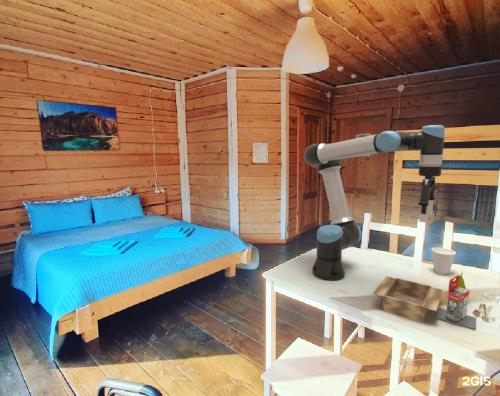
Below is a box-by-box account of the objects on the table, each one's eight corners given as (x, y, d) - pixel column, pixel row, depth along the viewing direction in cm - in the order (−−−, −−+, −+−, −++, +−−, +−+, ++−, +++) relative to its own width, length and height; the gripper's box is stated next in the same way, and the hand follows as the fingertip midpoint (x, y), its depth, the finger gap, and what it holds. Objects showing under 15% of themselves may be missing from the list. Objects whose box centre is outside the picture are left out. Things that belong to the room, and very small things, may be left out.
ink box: (466, 316, 103) (471, 277, 101) (456, 323, 99) (461, 283, 96) (455, 311, 106) (459, 273, 104) (445, 318, 102) (448, 279, 99)
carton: (372, 307, 111) (373, 292, 110) (385, 288, 126) (386, 275, 125) (434, 326, 98) (436, 310, 97) (441, 303, 113) (442, 288, 112)
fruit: (446, 300, 115) (449, 272, 113) (449, 294, 119) (451, 267, 118) (466, 306, 111) (469, 276, 109) (468, 299, 115) (471, 271, 113)
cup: (458, 274, 139) (460, 252, 137) (445, 278, 134) (448, 255, 132) (437, 266, 147) (439, 246, 146) (424, 270, 143) (426, 249, 141)
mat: (436, 318, 103) (436, 317, 103) (438, 309, 109) (439, 307, 109) (475, 330, 96) (475, 328, 96) (475, 319, 102) (476, 317, 102)
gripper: (437, 167, 102) (432, 226, 105) (445, 164, 121) (440, 214, 124) (413, 167, 106) (409, 223, 110) (424, 164, 126) (420, 212, 129)
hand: (425, 218), depth 117 cm, fingers open, 13 cm apart
